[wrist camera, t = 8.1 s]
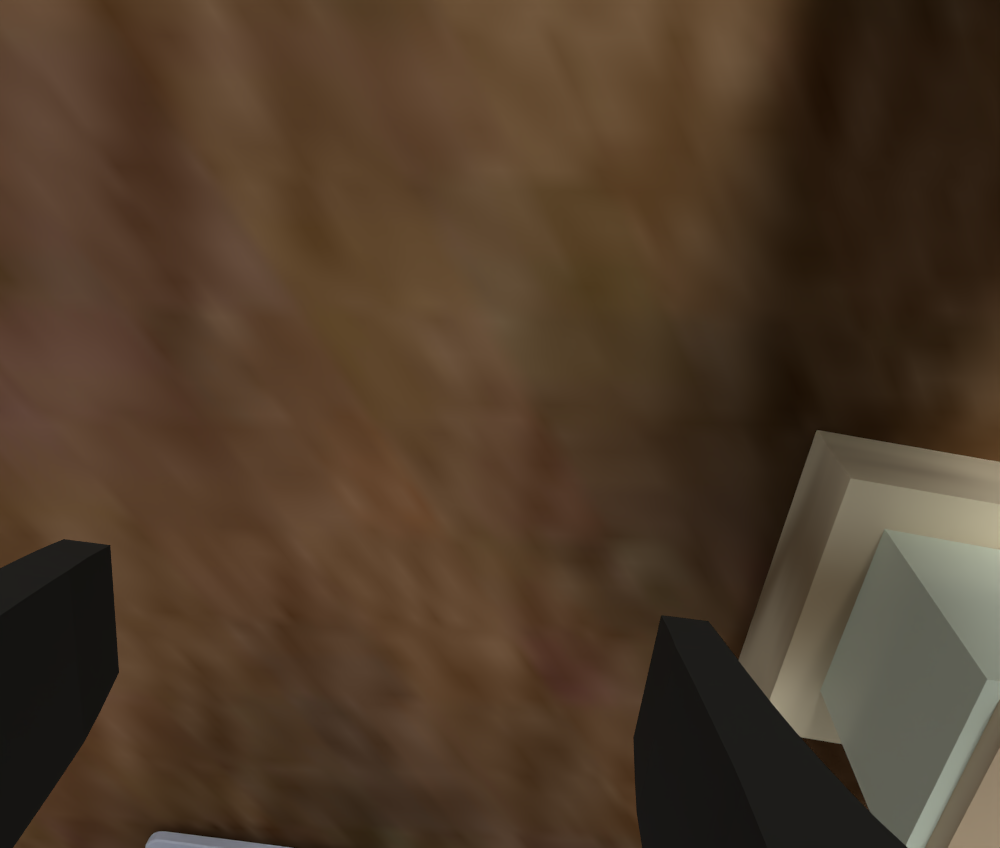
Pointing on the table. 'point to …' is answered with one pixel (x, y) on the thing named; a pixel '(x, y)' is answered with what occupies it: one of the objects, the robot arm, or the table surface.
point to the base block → (852, 555)
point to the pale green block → (924, 691)
